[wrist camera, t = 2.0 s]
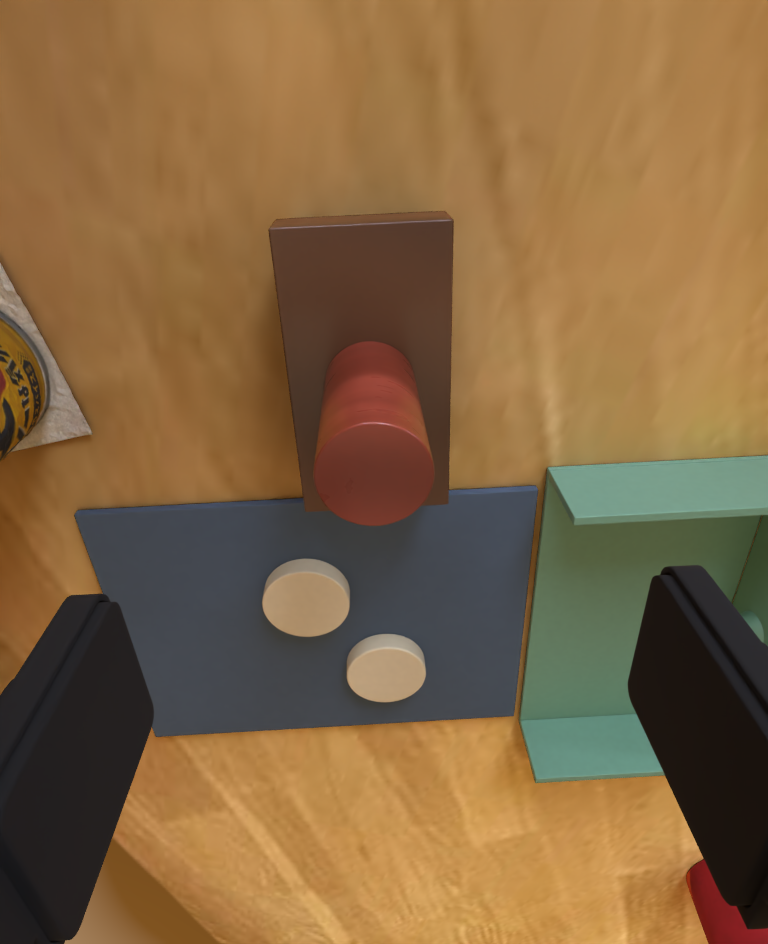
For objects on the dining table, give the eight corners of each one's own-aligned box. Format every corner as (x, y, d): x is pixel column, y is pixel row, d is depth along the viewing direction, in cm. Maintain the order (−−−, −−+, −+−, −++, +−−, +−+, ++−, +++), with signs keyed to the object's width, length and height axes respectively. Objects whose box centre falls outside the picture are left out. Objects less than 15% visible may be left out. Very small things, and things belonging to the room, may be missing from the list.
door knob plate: (280, 211, 20) (229, 275, 12) (440, 204, 20) (493, 261, 12) (310, 467, 25) (289, 630, 17) (438, 460, 25) (475, 620, 17)
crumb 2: (344, 635, 30) (343, 650, 29) (424, 630, 30) (426, 645, 29) (349, 689, 32) (349, 705, 31) (424, 685, 32) (426, 700, 31)
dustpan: (518, 720, 34) (535, 783, 31) (547, 466, 26) (574, 517, 23) (870, 699, 35) (923, 760, 31) (1014, 441, 26) (1109, 488, 23)
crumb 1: (258, 560, 27) (255, 574, 26) (346, 555, 27) (346, 569, 27) (270, 624, 29) (268, 639, 28) (352, 620, 29) (352, 634, 29)
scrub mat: (77, 509, 26) (73, 514, 26) (536, 485, 26) (538, 489, 26) (157, 731, 34) (155, 737, 33) (512, 710, 34) (514, 716, 34)
